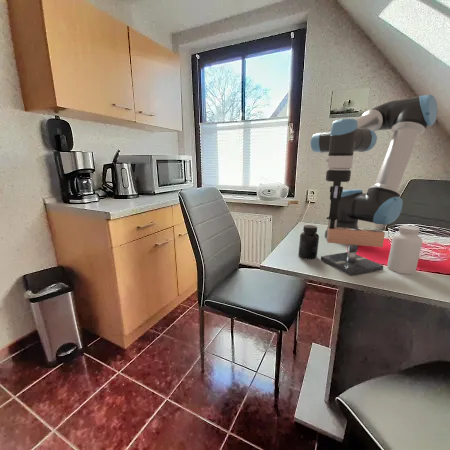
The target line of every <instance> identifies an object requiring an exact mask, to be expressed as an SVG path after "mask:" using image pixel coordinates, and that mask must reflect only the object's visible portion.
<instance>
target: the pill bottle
mask: <svg viewBox="0 0 450 450" xmlns="http://www.w3.org/2000/svg"><path fill="white" fill-rule="evenodd" d="M420 230H421V229H420V228H419V227H417V226H414V225H406V224H404V225H400V226H399V228H398V233H394V234H393V237H392V240H391V245H390V250H389V253H388V254H389V255H388V259H387V264H386V265H387V268H388V269H389V270H391V271H392V272H396V273H399V274H403V275H413V274H415V273H416V271H417V266H418V263H419V260H420V259H419V258H420V255H421V251H422V245H423V239H422V238H421V236H419V235H420Z"/></svg>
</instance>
